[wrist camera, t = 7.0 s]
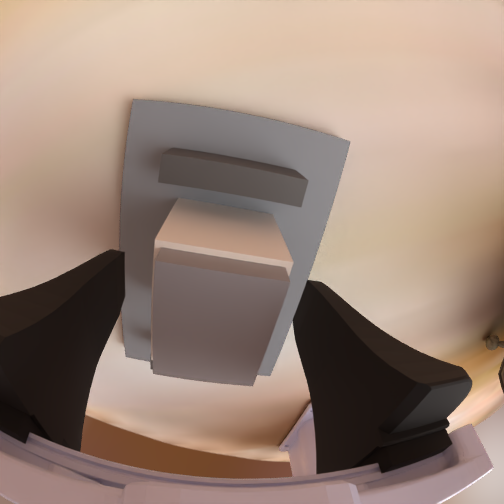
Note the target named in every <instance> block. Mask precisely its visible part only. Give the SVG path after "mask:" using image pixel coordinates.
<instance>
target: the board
mask: <svg viewBox="0 0 504 504" xmlns="http://www.w3.org/2000/svg"><path fill="white" fill-rule="evenodd" d="M349 145H350V141H347V140H344V139H341V138H338V137H335V136H332V135H328V134H325V133H322V132H318V131H315V130H311V129H308V128H304V127H300V126H297V125H293V124H289V123H285V122H281V121H277V120H272V119H268V118H264V117H259V116H254V115H249V114H244V113H239V112H234V111H228V110H223V109H217V108H210V107H204V106H197V105H189V104H181V103H172V102H163V101H151V100H137V99H133V103H132V109H131V115H130V121H129V127H128V134H127V142H126V150H125V158H124V168H123V179H122V191H121V208H120V236H119V251H123V252H125V299H124V302H123V305H122V308H121V313H122V326H123V337H124V346H125V355H126V357H129V358H134V359H139V360H144V361H149V362H150V363H151V369H153V360H151V300H152V275H153V258H154V244H155V238H156V236H157V235H158V233H159V231H160V229H161V227H162V226H163V224H164V222H165V220H166V218H167V217H168V215H169V213H170V211H171V210H172V208H173V206H174V204H175V203H176V201H177V199H178V198H183V199H189V200H195V201H201V202H207V203H213V204H219V205H224V206H230V207H236V208H241V209H247V210H252V211H257V212H262V213H268V214H273V216H274V218H275V220H276V223H277V225H278V227H279V230H280V232H281V234H282V236H283V239H284V241H285V243H286V246H287V248H288V250H289V253H290V255H291V257H292V260H293V262H294V263H293V266H292V269H291V272H290V275H289V279H290V285H289V288H288V291H287V294H286V297H285V300H284V303H283V305H282V308H281V311H280V314H279V317H278V320H277V323H276V325H275V328H274V331H273V334H272V336H271V339H270V342H269V345H268V347H267V350H266V353H265V355H264V358H263V361H262V363H261V366H260V369H259V371H258V374H257V375H263V376H270V375H271V373H272V370H273V368H274V366H275V363H276V361H277V358H278V356H279V353H280V351H281V349H282V346H283V344H284V341H285V339H286V336H287V333H288V331H289V328H290V326H291V323H292V321H293V317H294V315H295V312H296V309H297V307H298V304H299V301H300V299H301V296H302V293H303V290H304V288H305V285H306V282H307V280H308V277H309V274H310V271H311V269H312V266H313V263H314V260H315V257H316V254H317V251H318V248H319V245H320V242H321V239H322V236H323V233H324V230H325V227H326V224H327V221H328V217H329V214H330V211H331V208H332V205H333V201H334V198H335V195H336V191H337V188H338V185H339V181H340V178H341V174H342V171H343V167H344V164H345V160H346V156H347V153H348V149H349Z"/></svg>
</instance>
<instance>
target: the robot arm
mask: <svg viewBox="0 0 504 504" xmlns="http://www.w3.org/2000/svg"><path fill="white" fill-rule="evenodd" d="M124 299H125V252H123V251H117V250H111V249H110V250H108V251H106V252H104V253H102V254H100V255H98V256H96V257H94V258H92V259H91V260H89V261H87V262H85V263H83V264H81V265H80V266H78V267H76V268H74V269H72V270H70V271H68V272H66V273H64V274H62V275H60V276H58V277H56V278H54V279H52V280H50V281H47V282H45V283H42V284H40V285H37V286H35V287H32V288H29V289H26V290H23V291H20V292H16V293H13V294H10V295H6V296H2V297H0V495H1V496H2V497H4V498H6V499H7V500H9V501H11V502H13V503H14V504H441V503H442V502H444V501H446V500H448V499H449V498H451V497H453V496H454V495H456V494H458V493H459V492H461V491H462V490H464V489H466V488H467V487H469V486H470V485H472V484H473V483H475V482H476V481H478V480H479V479H480V478H482V477H483V476H485V475H486V474H488V473H489V472H490V471H491V470H493V468H494V467H493V465H492V463H491V461H490V459H489V457H488V455H487V453H486V451H485V449H484V447H483V445H482V443H481V441H480V439H479V437H478V435H477V433H476V431H475V430H474V428H473V426H472V424H468V425H465V426H463V427H461V428H458V429H456V430H454V431H452V432H451V433H449V434H448V433H447V431H446V429H445V428H447V427H448V426H449V424H450V423H449V422H448V420H447V417H448V416H449V415H450V414H451V413H452V412H453V411H454V410H455V409H456V408H457V407H458V406H459V405H460V403H461V402H462V401H463V400H464V399H465V398H466V396H467V395H468V393H469V392H470V390H471V387H472V380H471V378H470V377H469V375H468V374H467V372H466V371H465V370H464V369H463V368H462V367H459V366H456V365H453V364H450V363H447V362H444V361H441V360H438V359H435V358H433V357H431V356H428V355H426V354H424V353H421V352H419V351H417V350H415V349H413V348H411V347H409V346H407V345H406V344H404V343H402V342H400V341H398V340H397V339H395V338H393V337H392V336H390V335H389V334H387V333H386V332H384V331H383V330H381V329H380V328H378V327H377V326H375V325H374V324H373V323H371V322H370V321H369V320H368V319H366V318H365V317H364V316H362V315H361V314H360V313H359V312H357V311H356V310H355V309H354V308H353V307H351V306H350V305H349V304H348V303H347V302H346V301H344V300H343V299H342V298H341V297H340V296H339V295H337V294H336V293H335V292H334V291H333V290H331V289H330V288H329V287H328V286H326V285H325V284H323V283H322V282H318V281H311V280H307V282H306V285H305V288H304V290H303V293H302V296H301V299H300V301H299V304H298V307H297V309H296V312H295V315H294V317H293V327H294V335H295V341H296V345H297V348H298V352H299V355H300V359H301V362H302V366H303V369H304V373H305V376H306V380H307V383H308V387H309V392H310V397H311V403H310V404H309V405H308V407H307V408H306V410H305V411H304V413H303V414H302V416H301V417H300V419H299V420H298V421H297V423H296V424H295V426H294V427H293V429H292V430H291V431H290V433H289V434H288V436H287V437H286V438H285V440H284V441H283V442H282V444H281V445H280V446H279V450H280V451H288V452H289V458H290V463H291V469H292V475H293V477H285V478H265V479H228V478H208V477H197V476H187V475H178V474H171V473H164V472H158V471H152V470H147V469H142V468H137V467H132V466H128V465H123V464H119V463H115V462H111V461H108V460H104V459H100V458H97V457H93V456H90V455H87V454H84V453H81V452H80V448H81V439H82V429H83V423H84V417H85V411H86V406H87V401H88V397H89V393H90V388H91V384H92V381H93V377H94V373H95V370H96V367H97V364H98V361H99V358H100V356H101V354H102V352H103V349H104V347H105V345H106V343H107V341H108V338H109V336H110V334H111V332H112V330H113V328H114V325H115V323H116V321H117V319H118V317H119V314H120V311H121V308H122V305H123V302H124Z"/></svg>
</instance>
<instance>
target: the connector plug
mask: <svg viewBox="0 0 504 504" xmlns="http://www.w3.org/2000/svg"><path fill="white" fill-rule="evenodd" d="M293 263H294V262H293V260H292V257H291V255H290V253H289V250H288V248H287V246H286V243H285V241H284V239H283V236H282V234H281V232H280V230H279V227H278V225H277V223H276V220H275V218H274V216H273V214H268V213H262V212H257V211H252V210H247V209H241V208H236V207H230V206H224V205H219V204H213V203H207V202H201V201H195V200H189V199H183V198H178V199H177V201H176V203H175V204H174V206H173V208H172V210H171V211H170V213H169V215H168V217H167V218H166V220H165V222H164V224H163V226H162V227H161V229H160V231H159V233H158V235H157V236H156V238H155V244H154V258H153V275H152V300H151V360H153V374H158V375H164V376H169V377H176V378H182V379H189V380H196V381H204V382H213V383H222V384H232V385H244V386H253V384H254V382H255V379H256V376H257V374H258V371H259V369H260V366H261V363H262V361H263V358H264V355H265V353H266V350H267V347H268V345H269V342H270V339H271V336H272V334H273V331H274V328H275V325H276V323H277V320H278V317H279V314H280V311H281V308H282V305H283V303H284V300H285V297H286V294H287V291H288V288H289V285H290V279H289V275H290V272H291V269H292V266H293Z"/></svg>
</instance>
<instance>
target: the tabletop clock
mask: <svg viewBox="0 0 504 504" xmlns="http://www.w3.org/2000/svg"><path fill="white" fill-rule="evenodd" d="M498 346H500V347H502V348H504V341H499V338H498V336H497V335H490V336H489V337H488V338H487V340H486V347H487V348H488V349H489V350H495V349H496V348H497V347H498ZM498 375H499V379H500V383H501V388H502V390H503V393H504V359H503V361H502V364H501V367H500V370H499V373H498Z"/></svg>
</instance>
